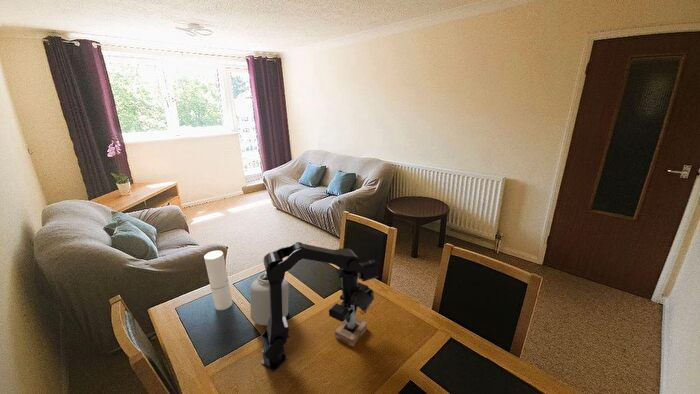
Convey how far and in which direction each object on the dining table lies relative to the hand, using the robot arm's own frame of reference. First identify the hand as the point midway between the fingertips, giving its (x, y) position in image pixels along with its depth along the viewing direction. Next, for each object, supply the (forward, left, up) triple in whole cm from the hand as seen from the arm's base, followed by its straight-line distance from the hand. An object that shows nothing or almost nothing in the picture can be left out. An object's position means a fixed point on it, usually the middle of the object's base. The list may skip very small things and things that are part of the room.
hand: (350, 319), depth 105 cm
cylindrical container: (-16, +57, -7) cm, 60 cm away
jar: (-9, +33, -7) cm, 35 cm away
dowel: (0, 0, -3) cm, 3 cm away
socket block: (0, 0, -7) cm, 7 cm away
